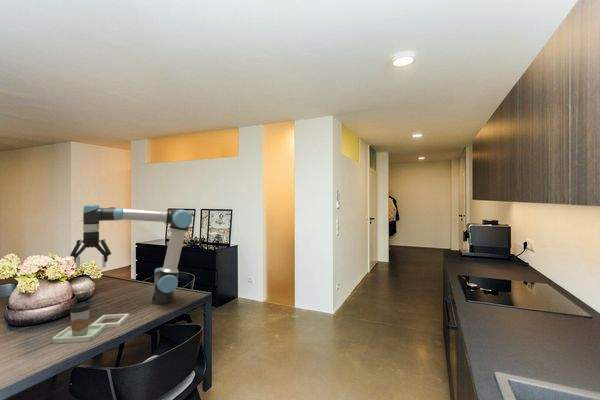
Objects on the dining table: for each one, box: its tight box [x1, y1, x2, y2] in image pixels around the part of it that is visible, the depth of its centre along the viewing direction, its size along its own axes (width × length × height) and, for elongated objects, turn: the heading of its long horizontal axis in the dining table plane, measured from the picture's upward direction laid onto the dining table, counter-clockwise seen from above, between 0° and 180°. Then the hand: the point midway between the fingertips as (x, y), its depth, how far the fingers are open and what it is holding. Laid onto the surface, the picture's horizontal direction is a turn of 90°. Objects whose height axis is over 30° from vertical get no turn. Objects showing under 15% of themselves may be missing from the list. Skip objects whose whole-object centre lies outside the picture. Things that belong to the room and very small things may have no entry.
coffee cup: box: [69, 302, 91, 337], centre depth 148 cm, size 8×8×15 cm
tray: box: [50, 324, 107, 345], centre depth 148 cm, size 18×14×2 cm
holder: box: [90, 313, 130, 329], centre depth 164 cm, size 14×14×2 cm
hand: (91, 267), depth 166 cm, fingers open, 13 cm apart
